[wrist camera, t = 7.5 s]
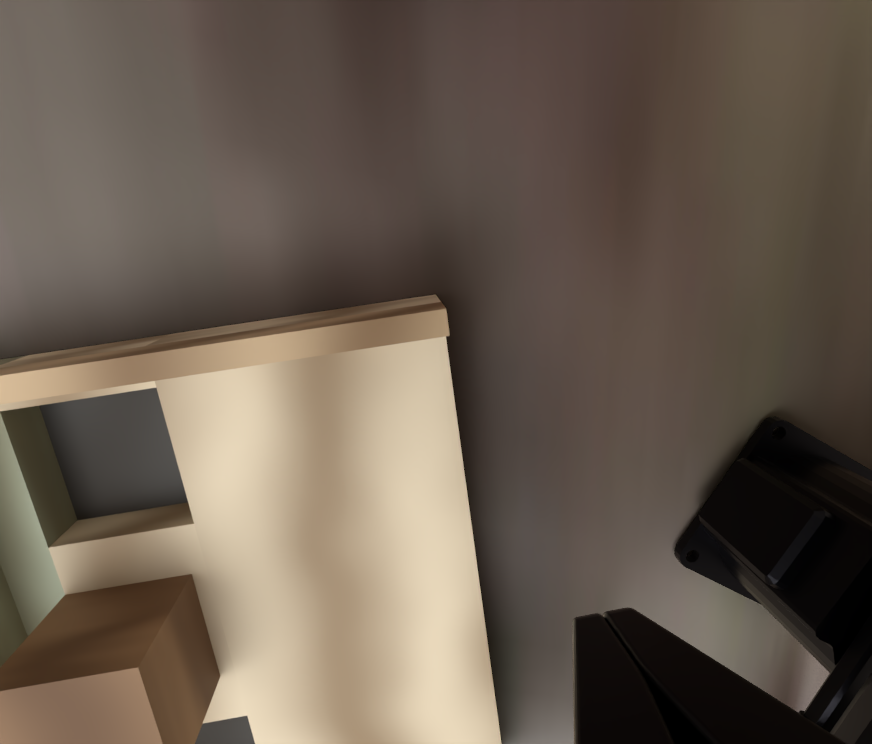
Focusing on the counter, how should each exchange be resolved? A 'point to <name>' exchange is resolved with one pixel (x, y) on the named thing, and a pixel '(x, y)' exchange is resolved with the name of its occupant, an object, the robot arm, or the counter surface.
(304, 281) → the counter surface
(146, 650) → the walnut block
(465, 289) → the counter surface
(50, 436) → the trap track
